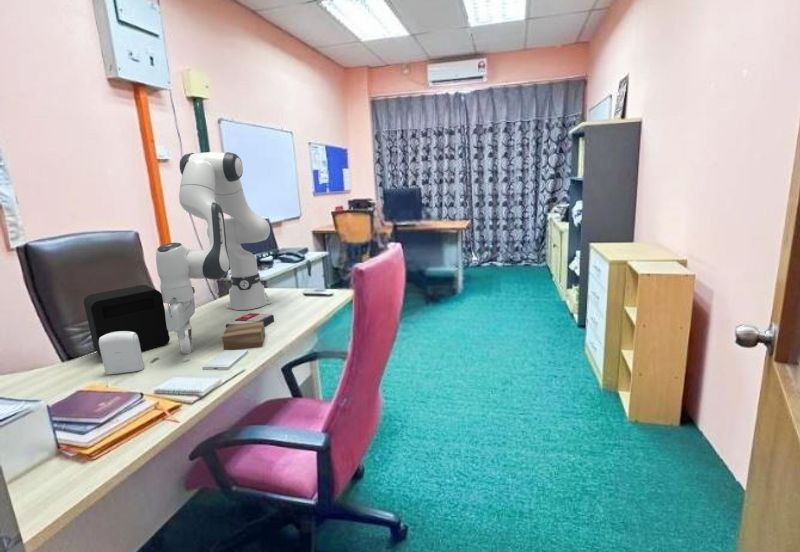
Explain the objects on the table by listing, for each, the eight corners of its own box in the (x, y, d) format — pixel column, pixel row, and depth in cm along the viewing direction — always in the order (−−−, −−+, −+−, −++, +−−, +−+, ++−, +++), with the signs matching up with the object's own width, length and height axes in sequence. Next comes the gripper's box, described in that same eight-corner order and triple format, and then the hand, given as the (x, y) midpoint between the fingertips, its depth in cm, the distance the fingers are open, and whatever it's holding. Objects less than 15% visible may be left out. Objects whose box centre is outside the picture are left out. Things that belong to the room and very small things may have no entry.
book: (273, 312, 168) (251, 323, 154) (274, 323, 169) (252, 335, 155) (249, 312, 171) (224, 322, 157) (250, 322, 172) (226, 334, 158)
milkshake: (194, 347, 145) (190, 319, 143) (195, 352, 140) (190, 322, 139) (179, 350, 143) (174, 321, 141) (180, 355, 138) (175, 325, 136)
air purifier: (158, 335, 160) (148, 282, 156) (171, 344, 150) (161, 288, 145) (93, 351, 146) (81, 295, 142) (103, 363, 136) (89, 302, 132)
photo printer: (103, 376, 126) (94, 336, 124) (110, 370, 130) (101, 331, 128) (141, 372, 128) (133, 332, 125) (146, 366, 132) (139, 327, 129)
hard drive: (224, 350, 139) (201, 366, 127) (248, 349, 138) (228, 366, 126) (224, 354, 139) (202, 371, 127) (248, 354, 138) (228, 371, 126)
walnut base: (229, 338, 152) (227, 325, 151) (265, 334, 154) (263, 321, 153) (224, 351, 140) (221, 336, 139) (262, 346, 143) (260, 332, 142)
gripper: (179, 301, 128) (187, 345, 131) (195, 286, 148) (201, 324, 151) (156, 304, 127) (164, 348, 130) (175, 288, 146) (182, 327, 149)
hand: (184, 335), depth 140 cm, fingers closed on milkshake, 4 cm apart
